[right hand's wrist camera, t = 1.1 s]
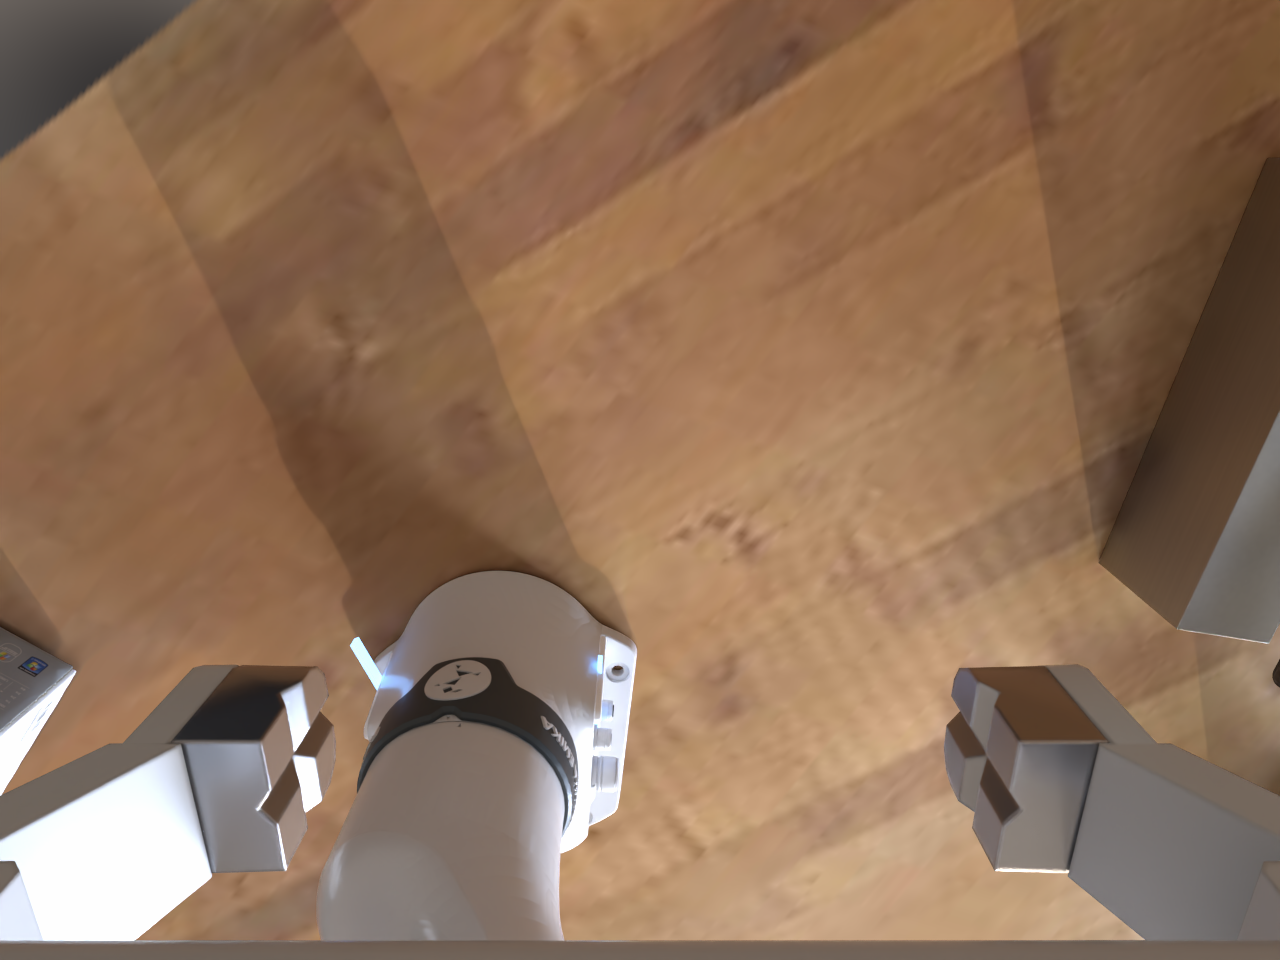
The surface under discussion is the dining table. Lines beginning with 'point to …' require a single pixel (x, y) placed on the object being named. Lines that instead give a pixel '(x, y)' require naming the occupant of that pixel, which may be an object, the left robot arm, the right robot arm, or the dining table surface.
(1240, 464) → the bar
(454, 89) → the dining table surface
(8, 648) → the hard drive box
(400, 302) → the dining table surface
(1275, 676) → the left robot arm
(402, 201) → the dining table surface
